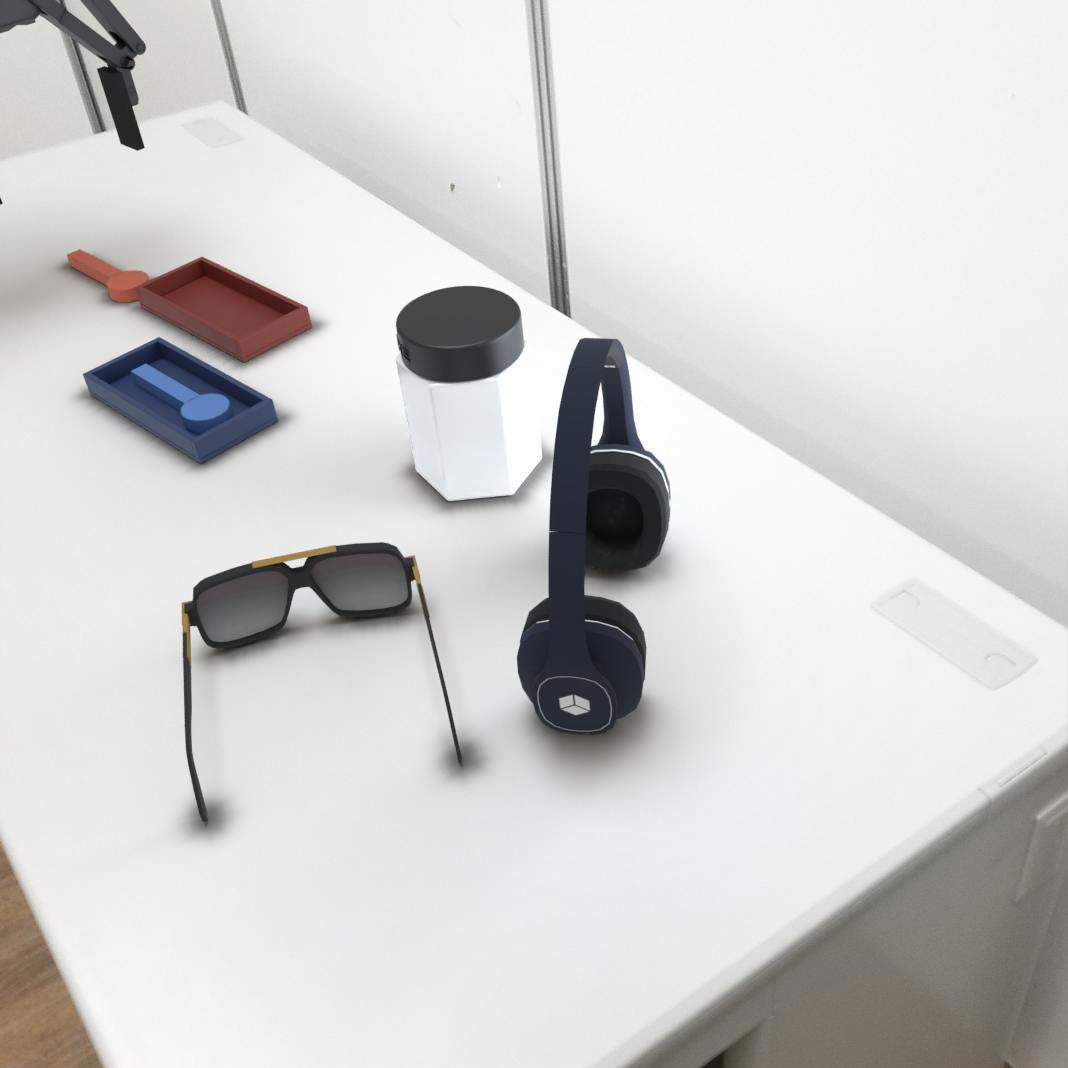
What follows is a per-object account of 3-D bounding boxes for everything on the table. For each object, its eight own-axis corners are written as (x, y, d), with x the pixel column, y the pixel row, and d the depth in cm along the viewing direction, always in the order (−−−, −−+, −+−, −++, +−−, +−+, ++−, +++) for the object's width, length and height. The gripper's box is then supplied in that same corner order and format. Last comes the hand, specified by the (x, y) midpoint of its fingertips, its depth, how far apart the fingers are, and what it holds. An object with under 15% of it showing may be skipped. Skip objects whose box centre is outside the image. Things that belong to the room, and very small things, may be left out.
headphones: (572, 522, 82) (551, 270, 70) (675, 527, 82) (673, 273, 69) (515, 750, 68) (477, 483, 56) (640, 760, 67) (629, 491, 55)
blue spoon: (122, 390, 97) (118, 376, 96) (162, 370, 99) (157, 357, 98) (202, 439, 91) (198, 425, 90) (243, 417, 93) (239, 404, 92)
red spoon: (60, 271, 113) (55, 259, 112) (94, 256, 115) (90, 244, 114) (124, 306, 108) (120, 294, 107) (160, 290, 109) (156, 277, 109)
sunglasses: (203, 826, 65) (177, 764, 62) (196, 634, 76) (173, 573, 73) (463, 765, 67) (452, 702, 64) (420, 587, 78) (408, 526, 75)
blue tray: (90, 394, 97) (82, 373, 96) (165, 357, 101) (159, 336, 100) (201, 464, 89) (193, 442, 88) (278, 420, 93) (272, 399, 92)
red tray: (140, 307, 107) (133, 287, 106) (207, 275, 111) (202, 256, 110) (244, 362, 100) (238, 342, 98) (312, 327, 103) (307, 306, 102)
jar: (459, 420, 92) (437, 273, 84) (557, 443, 89) (545, 292, 81) (396, 489, 86) (366, 338, 78) (500, 515, 83) (480, 361, 75)
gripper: (-183, -58, 83) (-53, 238, 97) (137, -137, 96) (210, 134, 110) (-227, -72, 87) (-96, 214, 101) (86, -147, 100) (163, 116, 114)
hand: (64, 173), depth 106 cm, fingers open, 13 cm apart
